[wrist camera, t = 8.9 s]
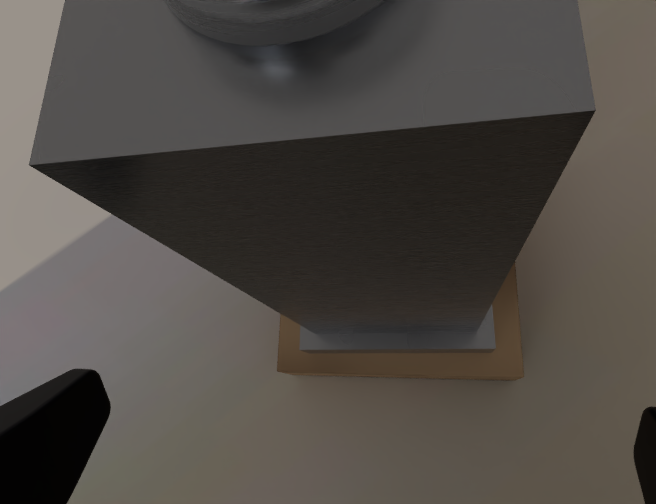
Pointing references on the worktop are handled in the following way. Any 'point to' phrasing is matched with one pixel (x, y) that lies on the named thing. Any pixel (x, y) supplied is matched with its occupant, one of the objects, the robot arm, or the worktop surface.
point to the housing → (326, 148)
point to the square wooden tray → (418, 365)
